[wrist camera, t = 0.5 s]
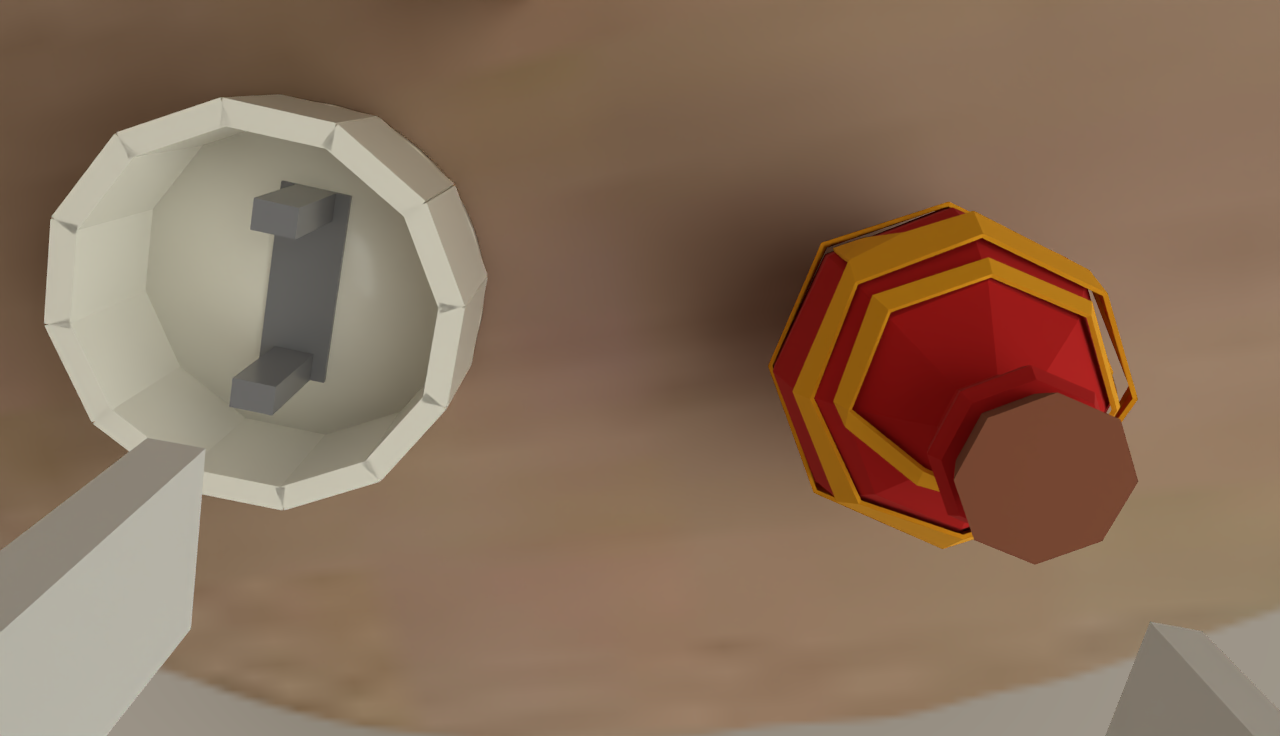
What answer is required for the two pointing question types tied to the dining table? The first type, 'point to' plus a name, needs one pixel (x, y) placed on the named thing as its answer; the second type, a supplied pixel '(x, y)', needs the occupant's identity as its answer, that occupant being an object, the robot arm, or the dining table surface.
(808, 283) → the potion bottle
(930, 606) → the dining table surface
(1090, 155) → the dining table surface
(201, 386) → the white round bowl
